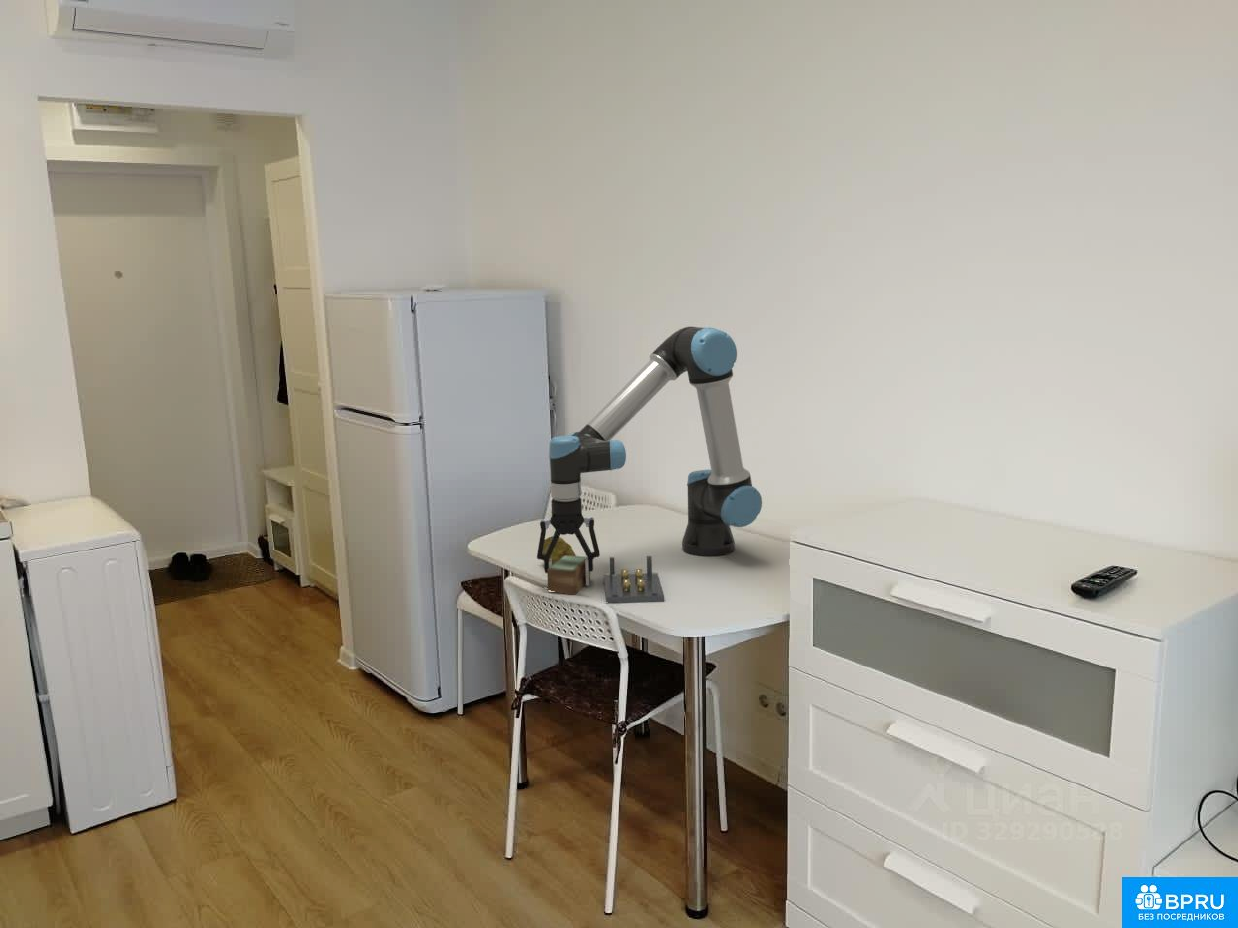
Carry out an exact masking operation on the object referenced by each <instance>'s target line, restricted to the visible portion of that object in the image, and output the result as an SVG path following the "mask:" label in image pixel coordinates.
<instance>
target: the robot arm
mask: <svg viewBox="0 0 1238 928" xmlns="http://www.w3.org/2000/svg"><path fill="white" fill-rule="evenodd" d="M737 349H738V348H737V345H736V342H735V341H734V339H733V338H732V337H731V335H730V334H729V333H727V332H725V331H724V330H721V329H719V328H715V327H697V326H686V327H682V328H679V329H678V330H676V331H675V332H673V333H672V334H671V335H670V336H669V337H667V338H666V339H665V340H664V341H663V342H662V343H661V344H660V345H658V347H656V349H655V350H654V351H653V352H652V353H651V354H650V356H649V361H648V362H647V363H646V364H645V365H644V366H643V367H642V368H641V369H640V370H639V371H638V372H637V373H636V374H635V375H634V376H633V377H632V378H631V379H630V380H629V381H628V382H627V383H626V384H625V385H624V386H623V388H621V389H620V390H619V392H618V393H616V395H615V396H613V397H612V398H611V399H610V401H609V402H608V403H606V405H604V407H603V408H602V409H601V410H600V411H598V412H597V414H596V415H595V416H593V418H592V419H591V420H590V421H589V422H588V423H587V424H586V425H585V426H584V427H583V428H581V430H580V431H575V432H574V431H573V432H572V433H570V434H569V435H560V436H554V437H553V438H551V439H550V440H549V452H548V453H549V455H548V457H549V468H550V496H551V498H552V499H551V500H550V501H551V517H550V519H544V518H543V519H540V522H539V525H540V536H539V542H538V549H537V553H536V559H538V560H541V561H543V562H544V565H543V566H544V573H545V574H547V569H548V568H550V567H551V566H552V559H549V558H550V556H551V554H552V552H553V549H554V547H555V545H556V543H557V540H558V538H559V537H561V535H562V536H563V535H564V536H566V535H575V537H576V538H577V541H578V543H579V544H580V546H581V547H582V550H583V551H584V553H585V555H586V556H585V557H586V558H585V568H586V584H585V585H586V586H589V585H590V580H589V571H590V572H593V571H594V559H595V558H599V557H600V556H601V555H600V549H599V545H598V544H599V543H598V540H597V537H596V532H595V528H594V527H595V519H594V517H590V518H587V517H584V516H583V514H582V513H583V509H582V508H583V507H582V499H581V496H582V485H581V483H582V482H581V480H582V479H581V478H582V477H581V475H582V474H585V473H596V472H605V471H614V470H618V469H621V468H623V467H624V465H625V464H626V459H627V453H626V448H625V445H624V443H623V441H621V440H619V439H614V437H615V436H616V435H617V434H618V433H619V432H620V431H621V430H622V429H623V428H624V427H625V426H626V425H627V424H628V423H629V422H630V421H631V420H632V419H633V418H634V417H635V416H636V415H637V414H638V413H639V412H640V411H641V410H642V409H643V408H644V407H645V406H646V405H647V404H648V403H649V402H650V401H651V400H652V399H653V398H654V397H655V396H656V395H657V394H658V393H659V392H660V391H661V390H662V389H663V388H664V387H665V386H666V384H668V383H669V382H670V381H676V380H677V379H678V378H679V377H680V376H681V375H682V374H684V373H685V372H687V377H688V382H689V384H690V385H691V386H693V387H694V388H695V389H696V394H697V399H698V404H699V410H700V415H701V420H702V421H701V422H702V426H703V433H704V436H705V438H704V439H705V442H706V448H707V454H708V460H709V464H710V469H700V470H694V471H691V472H690V473H689V474H688V476H687V484H686V486H687V525H686V527H685V531H684V534H683V537H682V541H681V549H682V550H683V551H684V552H685V553H688V554H690V555H695V556H708V557H709V556H710V557H711V556H722V555H726V554H731V553H732V552H734V551H735V549H736V541H735V537H734V534H733V531H732V529H731V526H732V527H737V528H743V527H746V526H748V525H751V524H752V523H753V522H754V521H756V520H757V517H758V515H760V513H761V511H762V508H763V498H762V495H761V493H760V491H759V490H758V489H757V488H756V487H755V486H753V483H752V478H751V477H752V476H751V472H750V471H749V470H747V469H746V468H745V467H744V465H743V458H742V452H741V447H740V446H741V445H740V441H739V435H738V430H737V424H736V417H735V413H734V405H733V401H732V395H731V389H730V384H729V383H730V381H731V380H732V378H733V377H734V372H733V368H734V367H735V363H736V362H737V358H738V350H737ZM583 524H585V527H587V528H588V532H589V535H590V539H591V544H592V548H593V551H591V549H590V548H589V545H588V543H587V541H586V539H585V538H584V536H583V533H582V531H581V530H580V528H581V527H582V526H583ZM550 525H551V526H552V527H553V528H554V530H555V531H554V532H553V533H554V534H553V535H552V536H553V538H552V540H551V542H550V545H549V547H548V549H547V551H546V554H542V552H543V547H544V541H545V539H546V535H547V534H546V533H547V530H548V529H549V527H550Z"/></svg>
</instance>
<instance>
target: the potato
mask: <svg viewBox="0 0 1238 928" xmlns="http://www.w3.org/2000/svg"><path fill="white" fill-rule="evenodd" d="M553 536H554V535H552V536H549V537H547V538H545V541H544V547H543V552H542V554H546V551H547V549H548V547H549V545H550V542H551V540H552V538H553ZM565 555H567V556H577V554H576V553H575V552H574V550H573V548H572V546H571V545H570V544H569V543H568V542H567V541H565V540H564V539H563V538H562V537H561V536H559V538H558V540H557V543H556V545H555V547H554V549H553V552H552V554H551V556H550V558H549V559H552V565H553V564H555V563H556V562H557V561H558V560H560V559H561V558H562V557H563V556H565Z"/></svg>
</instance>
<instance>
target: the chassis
mask: <svg viewBox="0 0 1238 928" xmlns="http://www.w3.org/2000/svg"><path fill="white" fill-rule="evenodd" d="M634 571H635V572H634V573H629V570H628V569H621V570H620V574H618V573H617V574H616V567H615V556H609V574H603V586H604V594H605V601H606V602H608V603H607V604H621V603H622V604H624V603H626V604H627V603H649V602H650V603H651V602H654V603H655V602H664V601H665V594H664V590H663V587H662V584H661V580H660V578H659V577H660V576H659V573H658V572H653V560H652V555H646V573H643V569H641V568H637V569H635V570H634ZM606 602H605V603H606Z"/></svg>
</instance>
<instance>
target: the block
mask: <svg viewBox="0 0 1238 928" xmlns="http://www.w3.org/2000/svg"><path fill="white" fill-rule="evenodd" d="M586 557H587V556H579V555H576V556H567V555H565V556H563V557H562V558H561V559H560V560H558V561H557V562H556V563H555V564H553V565H552V566H551V567H550V568H548V569H547V573H546V574H547V591H548V590H551V591H555V592H559V593H558V594H563V593H565V595H576V594H577V592H579V591H580V590H581V589H582V588H583V587H584V586H585V585H586V568H585V558H586ZM590 580H591V571H589V581H590Z"/></svg>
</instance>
